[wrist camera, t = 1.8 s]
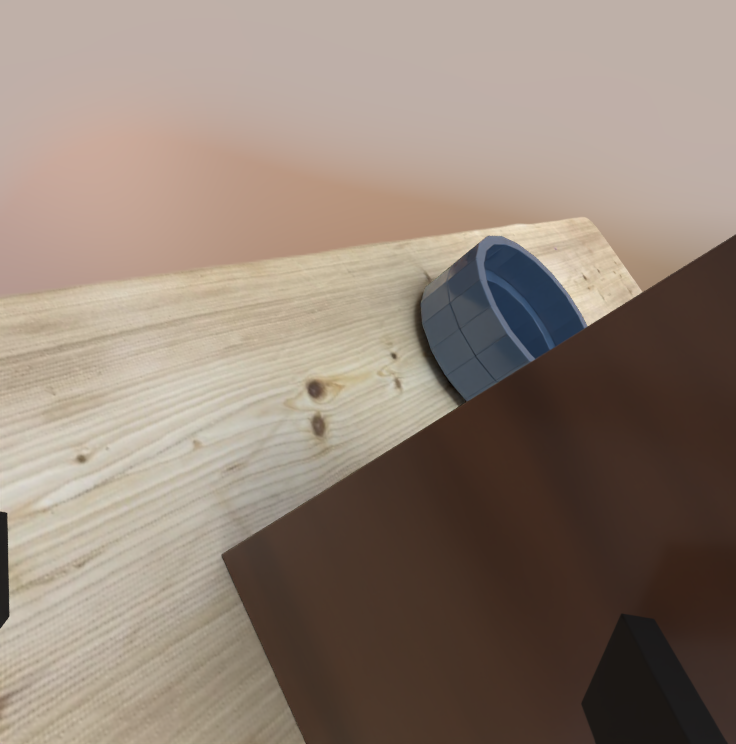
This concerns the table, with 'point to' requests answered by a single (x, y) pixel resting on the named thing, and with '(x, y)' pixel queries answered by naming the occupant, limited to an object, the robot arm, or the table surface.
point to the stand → (521, 540)
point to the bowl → (495, 315)
